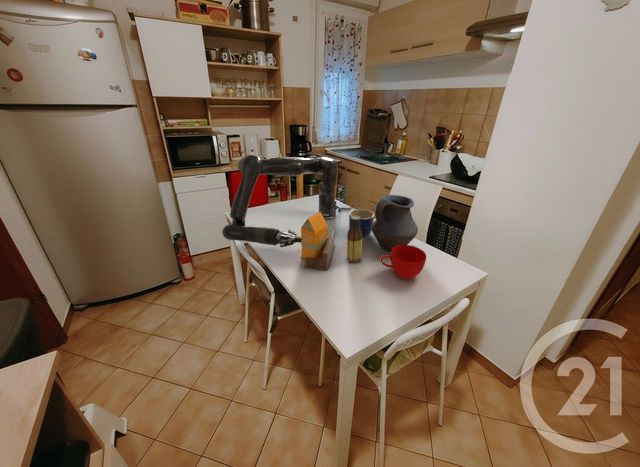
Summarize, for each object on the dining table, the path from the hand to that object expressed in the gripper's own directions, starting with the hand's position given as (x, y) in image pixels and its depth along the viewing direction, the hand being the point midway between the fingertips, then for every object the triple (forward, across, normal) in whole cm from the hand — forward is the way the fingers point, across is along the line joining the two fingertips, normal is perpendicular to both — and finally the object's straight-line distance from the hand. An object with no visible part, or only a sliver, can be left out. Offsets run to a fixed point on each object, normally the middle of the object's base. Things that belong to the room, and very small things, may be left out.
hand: (304, 240), depth 114 cm
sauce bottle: (+22, +1, +7) cm, 23 cm away
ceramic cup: (+41, -6, +8) cm, 42 cm away
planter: (+23, +26, +7) cm, 35 cm away
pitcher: (+38, +15, +8) cm, 41 cm away
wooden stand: (+7, 0, +7) cm, 10 cm away
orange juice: (+4, 0, +8) cm, 9 cm away
